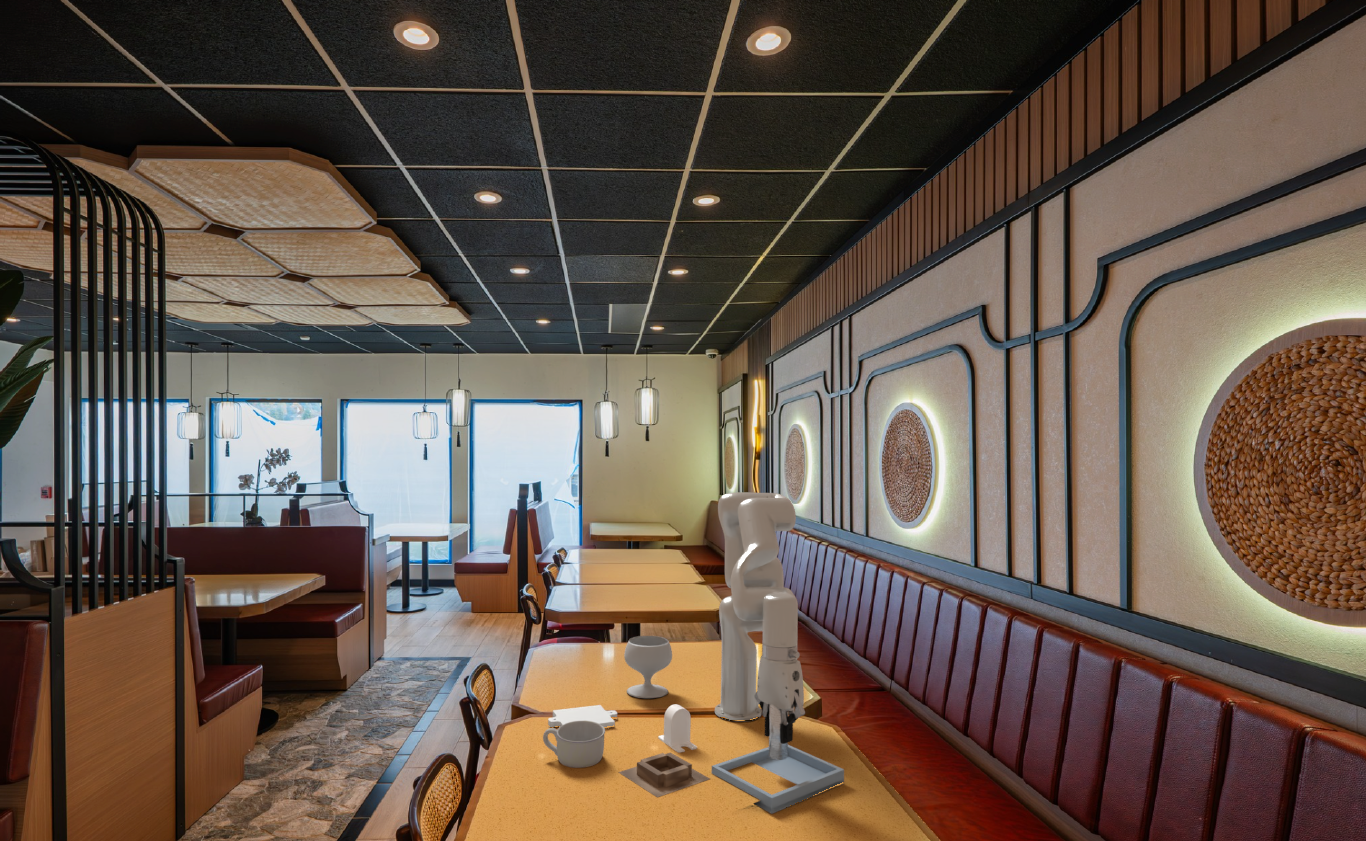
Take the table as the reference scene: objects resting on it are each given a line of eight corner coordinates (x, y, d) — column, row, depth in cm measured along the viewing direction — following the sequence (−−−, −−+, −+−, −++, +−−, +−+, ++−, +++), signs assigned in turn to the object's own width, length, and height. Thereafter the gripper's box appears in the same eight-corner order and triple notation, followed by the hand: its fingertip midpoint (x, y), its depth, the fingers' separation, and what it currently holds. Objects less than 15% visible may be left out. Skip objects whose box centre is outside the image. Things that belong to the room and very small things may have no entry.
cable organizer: (676, 740, 177) (677, 698, 178) (697, 755, 169) (698, 711, 169) (657, 744, 175) (658, 702, 175) (678, 759, 166) (679, 715, 167)
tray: (782, 755, 170) (782, 742, 170) (843, 783, 156) (844, 769, 156) (711, 780, 156) (711, 765, 156) (771, 813, 142) (771, 798, 142)
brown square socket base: (669, 763, 164) (670, 745, 164) (710, 786, 153) (710, 766, 153) (618, 779, 155) (618, 760, 156) (657, 805, 144) (657, 784, 145)
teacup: (612, 760, 165) (612, 724, 165) (590, 780, 155) (591, 741, 155) (557, 750, 170) (558, 715, 170) (533, 769, 159) (534, 732, 160)
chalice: (670, 701, 205) (671, 647, 205) (621, 700, 205) (622, 646, 206) (672, 685, 219) (673, 635, 219) (625, 684, 219) (626, 634, 220)
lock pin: (777, 750, 159) (778, 694, 159) (791, 756, 156) (792, 699, 156) (764, 754, 156) (765, 698, 157) (778, 761, 153) (779, 703, 154)
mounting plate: (554, 737, 179) (554, 729, 179) (543, 718, 190) (543, 711, 191) (624, 728, 186) (624, 720, 186) (608, 711, 197) (609, 703, 198)
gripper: (821, 658, 153) (820, 747, 152) (764, 641, 166) (763, 723, 165) (796, 664, 148) (795, 755, 147) (740, 646, 161) (739, 730, 160)
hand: (778, 737), depth 156 cm, fingers closed on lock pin, 4 cm apart
